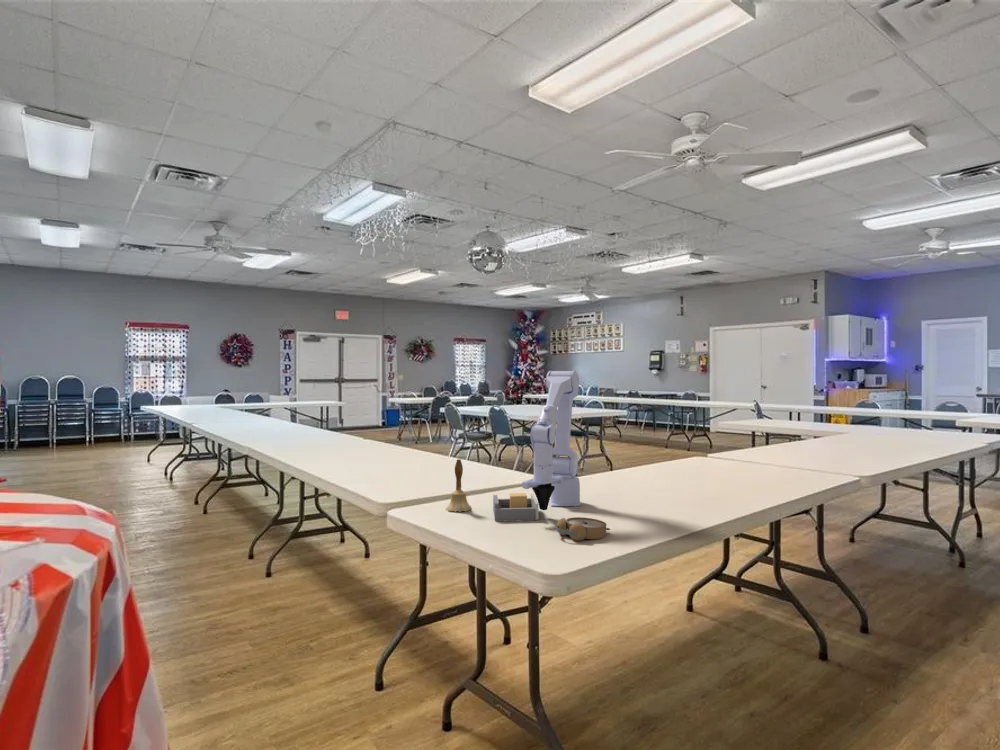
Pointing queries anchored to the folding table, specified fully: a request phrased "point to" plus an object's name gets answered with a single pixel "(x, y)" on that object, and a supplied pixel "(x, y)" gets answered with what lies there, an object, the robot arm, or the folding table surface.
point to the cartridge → (518, 500)
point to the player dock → (511, 511)
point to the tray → (530, 505)
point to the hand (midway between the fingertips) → (543, 509)
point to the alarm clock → (582, 528)
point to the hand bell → (458, 492)
